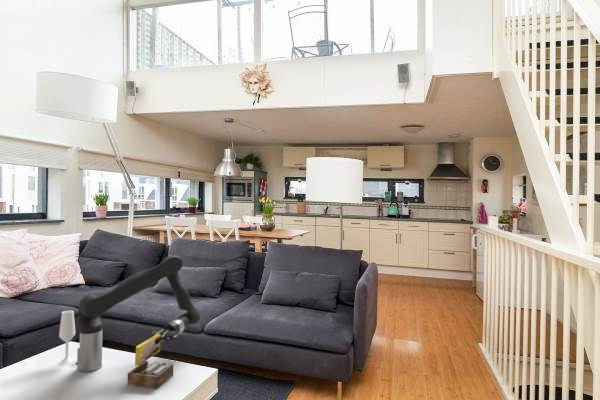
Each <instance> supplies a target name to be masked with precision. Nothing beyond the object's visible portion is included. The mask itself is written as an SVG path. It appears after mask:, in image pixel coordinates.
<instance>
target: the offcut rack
mask: <svg viewBox="0 0 600 400" xmlns="http://www.w3.org/2000/svg"><path fill="white" fill-rule="evenodd" d="M156 362H157V361H154V363H156ZM154 363H152V364H150V365H148V360H146V361H145V362H143V363H142V364H140V365H139V366H135V368H133V369H131V370H130V371H129V372H127V383H126V385H127V386H131V387H137V388H138V387H139V388H140V387H141V388H148V389H153V390H158V389H159V388H160V387H162V386H163V385H164V384H165V383H166V382H167V381H168V380H170V378H172V377H173V376H174V363H171V364H169V365H168V366H167V368H166V369H164V370H163V371H162V372H161V373H159V374H158V375H157V376H155V375H153V372H155V371H156V370H157V369H158V368H160V367H161V366H162V365H164V366H166V362H162V364H161V365H160V366H159V367H157V368H156V369H155V370H153V371H152V372H151V373H149V375H147V374H146V369H147V368H149V367H150V366H152V365H153V364H154Z"/></svg>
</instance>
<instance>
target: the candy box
mask: <svg viewBox="0 0 600 400" xmlns="http://www.w3.org/2000/svg"><path fill="white" fill-rule="evenodd" d="M158 337H161V334H156V335H155V336H153V337H152V336H151V337H150V338H149V339H146V340H145V341H143V342H142V343H139V344H138V345H136V346H135V359H134V360H135V361H134V366H135V367H138V366H139V365H140V364H142V363H143V362H145V361H148V360H149V359H151V358H152V357H154V356H156V355H157V354H158V353H159V352H161V342H160V343H158V344H155V339H157V338H158Z"/></svg>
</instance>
